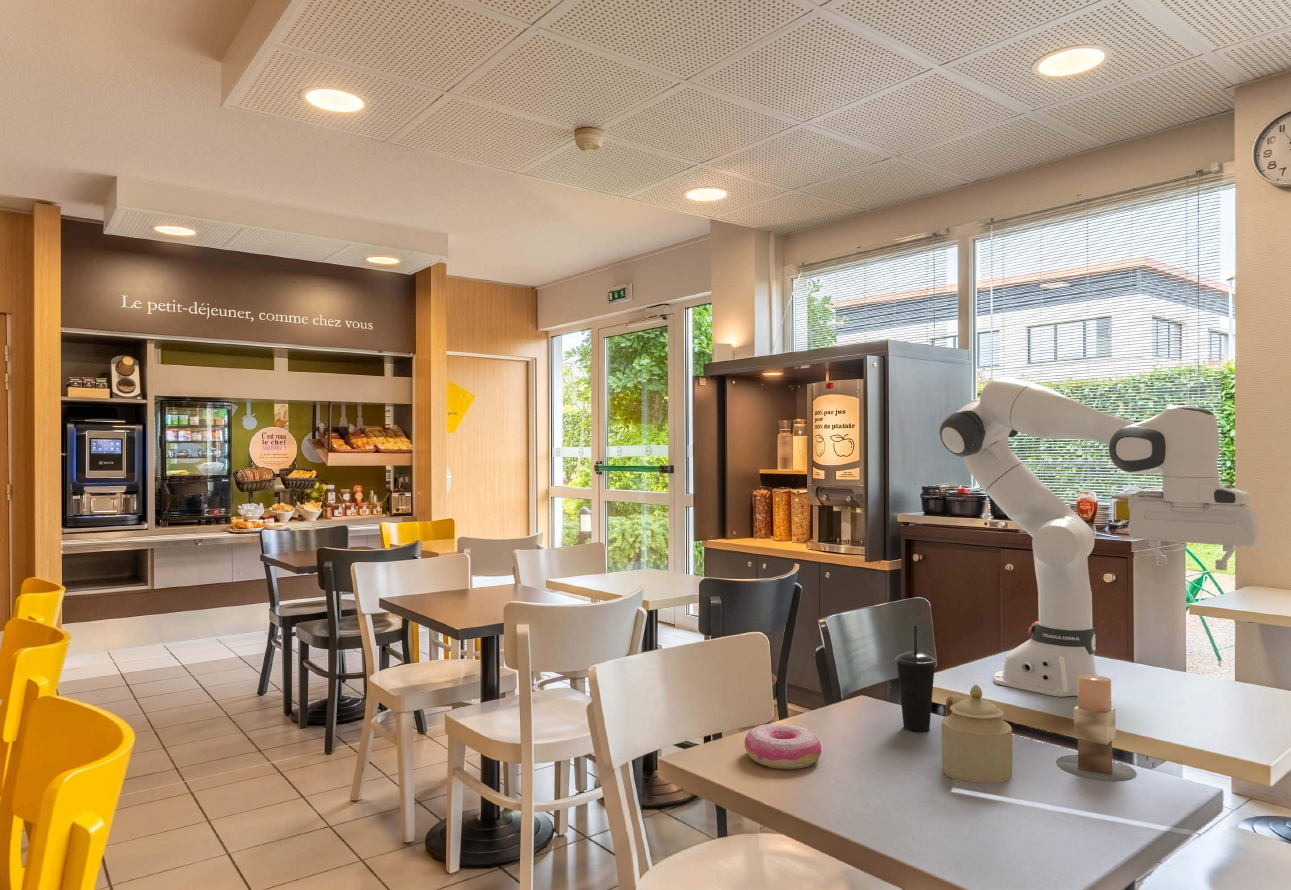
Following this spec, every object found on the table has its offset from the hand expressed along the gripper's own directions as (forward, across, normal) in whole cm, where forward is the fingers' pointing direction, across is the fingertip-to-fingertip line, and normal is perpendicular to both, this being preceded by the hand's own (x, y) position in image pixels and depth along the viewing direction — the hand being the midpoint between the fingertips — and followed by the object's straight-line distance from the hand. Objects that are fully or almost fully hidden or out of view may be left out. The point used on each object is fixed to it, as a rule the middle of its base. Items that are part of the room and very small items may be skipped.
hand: (1190, 567), depth 154 cm
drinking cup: (+33, -40, -28) cm, 59 cm away
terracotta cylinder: (+22, -8, -27) cm, 36 cm away
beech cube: (+27, -8, -27) cm, 39 cm away
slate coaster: (+33, -8, -27) cm, 43 cm away
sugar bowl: (+33, -23, -42) cm, 58 cm away
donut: (+34, -49, -60) cm, 84 cm away
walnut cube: (+32, -8, -27) cm, 43 cm away
